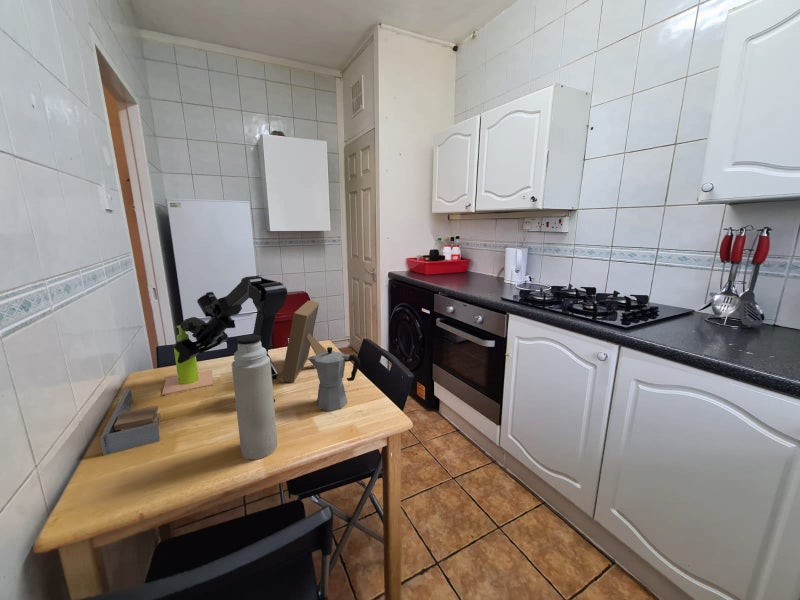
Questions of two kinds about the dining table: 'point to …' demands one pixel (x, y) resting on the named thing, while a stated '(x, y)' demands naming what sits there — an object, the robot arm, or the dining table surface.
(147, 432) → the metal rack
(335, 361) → the coffeepot
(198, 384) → the terracotta tile
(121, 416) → the walnut offcuts
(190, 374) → the soap dispenser
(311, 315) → the photo frame
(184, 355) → the robot arm
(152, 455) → the dining table surface
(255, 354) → the thermos bottle
